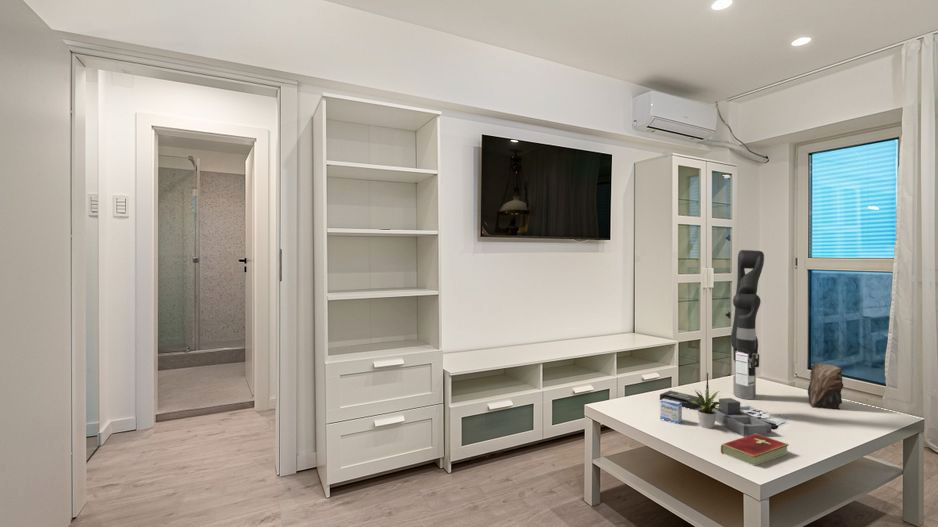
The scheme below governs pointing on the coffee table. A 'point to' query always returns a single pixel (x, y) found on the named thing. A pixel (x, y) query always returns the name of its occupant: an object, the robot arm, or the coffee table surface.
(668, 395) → the black wifi router
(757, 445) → the hardcover book
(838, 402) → the brown rock
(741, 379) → the syrup box
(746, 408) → the light blue square frame
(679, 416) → the medicine box
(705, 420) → the house plant
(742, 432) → the grey desk organizer
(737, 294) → the robot arm
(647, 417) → the coffee table surface
